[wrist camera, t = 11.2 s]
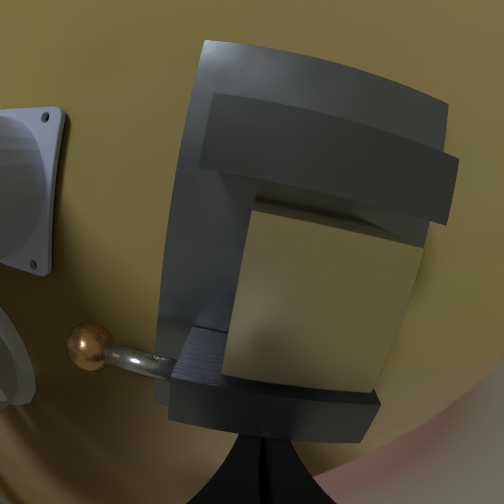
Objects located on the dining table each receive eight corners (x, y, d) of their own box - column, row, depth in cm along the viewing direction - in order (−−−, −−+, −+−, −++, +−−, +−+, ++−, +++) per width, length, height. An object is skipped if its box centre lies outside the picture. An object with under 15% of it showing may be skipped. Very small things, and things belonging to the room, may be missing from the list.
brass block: (235, 298, 12) (220, 374, 7) (255, 195, 11) (251, 210, 6) (335, 315, 12) (371, 392, 7) (361, 218, 11) (424, 248, 6)
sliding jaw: (91, 339, 13) (53, 380, 9) (89, 300, 12) (46, 337, 9) (342, 389, 13) (359, 443, 10) (357, 353, 13) (381, 404, 9)
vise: (159, 390, 15) (132, 451, 10) (208, 49, 11) (184, -4, 6) (346, 418, 15) (364, 480, 10) (437, 107, 11) (500, 89, 7)
